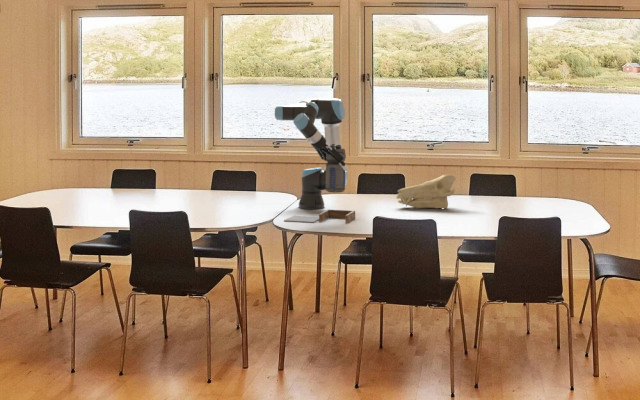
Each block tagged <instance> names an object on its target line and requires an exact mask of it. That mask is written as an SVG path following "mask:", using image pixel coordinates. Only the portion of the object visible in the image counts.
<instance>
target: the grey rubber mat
mask: <svg viewBox="0 0 640 400" xmlns="http://www.w3.org/2000/svg"><path fill="white" fill-rule="evenodd" d="M283 222H288V223H289V222H290V223H307V224H315V223H316V222H319V216H315V215H314V216H313V215H312V216H311V215H295V214H294V215H292V216H289V217H288V218H286V219H284V220H283Z"/></svg>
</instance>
